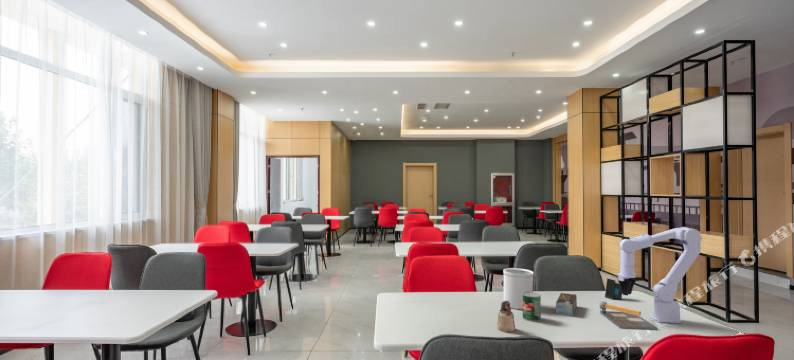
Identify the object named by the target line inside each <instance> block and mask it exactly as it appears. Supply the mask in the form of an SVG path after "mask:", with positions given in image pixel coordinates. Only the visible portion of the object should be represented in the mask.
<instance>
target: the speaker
mask: <svg viewBox="0 0 794 360" xmlns="http://www.w3.org/2000/svg"><path fill="white" fill-rule="evenodd" d="M604 297H605V298H607V299H610V300H614V299H618V300H622V299H623V294H622V290H621V286H620V284H619V282H616V280H615V279H611V278H606V284H605V294H604Z"/></svg>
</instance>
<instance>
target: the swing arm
mask: <svg viewBox="0 0 794 360" xmlns="http://www.w3.org/2000/svg"><path fill="white" fill-rule="evenodd" d="M599 308H601V309H606V310H611V311H615V312H624V313H629V314H633V315H637V316H640V317H641V315H642V311H641V310H637V309H633V308H628V307H623V306H619V305H615V304H611V303H607V302H606V301H599Z"/></svg>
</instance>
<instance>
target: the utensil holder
mask: <svg viewBox="0 0 794 360" xmlns="http://www.w3.org/2000/svg"><path fill="white" fill-rule="evenodd" d="M502 273H503V301H509V302H510V307H511V309H514V310H523V293H524V292H533V289H534V275H535V273H534V271H532V270H530V269H527V268H526V269H524V268H517V267H515V268H514V267H513V268H512V267H509V268H508V267H507V268H504V269H503V272H502ZM533 293H534V292H533Z"/></svg>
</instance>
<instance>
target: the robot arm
mask: <svg viewBox="0 0 794 360" xmlns="http://www.w3.org/2000/svg"><path fill="white" fill-rule="evenodd" d="M670 239H671V240H672V239H676V240H679V241H680V242H681V244H682V246H683V248H684V250H683V252H682V253H681V254H680V256H679V257H678V259H677V260H676V261H675V263H674V265H673V266H672V267H671V269H670V270H669V271H668V273H667V274H666V276H665V277H664V278H663V279H661V280H660V281H659V282H658V283H655V284H654V286H652V288H651V289H652V293H653V295H654V298H653V311H654V312H653V315H649V318H652V319H653V320H655V321H656V322H658V323H666V324H667V323H669V324H681V323H682V322H681V308H680V307H681V306H680V303H678V301H676V300H675V298H676V293H677V291H678V285H679V283H680V282H681V281H682V279H683V277H684V276H685V275H686V273H687V272H688V271H689V269H690V268H691V267H692V265H693V264H694V262H695V261H696V260H697V258H698V256H699V255H700V253H701V245H702V243H701V241H702V240H703V238H702V235H701V233H700V231H699V230H697V229H696V228H692V227H691V228H690V227H687V226H681V227H675V228H672V229H669V230H668V229H667V230H665V231H661V232H658V233H655V234H652V235H649V234H647V233H646V234H645V233H640V235H639V236H634V237H633V236H630V237H629V238H628V239H627V238H624V239H622V240H621V241H619V244H618V247H619V249H620V259H619V260H620V262H619V264H620V266H619V269H620V271H619V272H618V273H617V277H618V278H617V283H619V284H620V286H621V290H622V296H627V297H628V296H629V295H632V292H633V289H634V286H635V284H636V282H637V279H636V274H637V273H636V272H635V258H636V257H635V252H636V251H638V250H643V249H645V248H649V247H652V246H653V244H654V243H658V242H661V241H662V242H663V241H666V240H670Z"/></svg>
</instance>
